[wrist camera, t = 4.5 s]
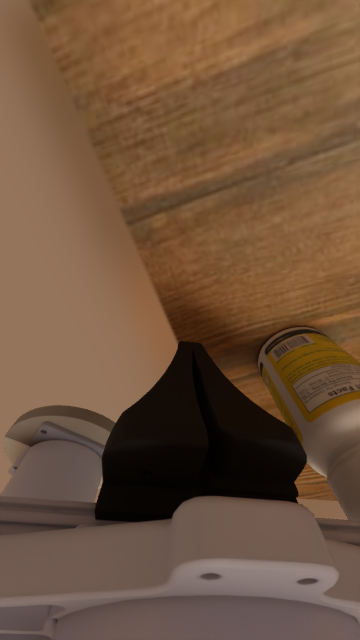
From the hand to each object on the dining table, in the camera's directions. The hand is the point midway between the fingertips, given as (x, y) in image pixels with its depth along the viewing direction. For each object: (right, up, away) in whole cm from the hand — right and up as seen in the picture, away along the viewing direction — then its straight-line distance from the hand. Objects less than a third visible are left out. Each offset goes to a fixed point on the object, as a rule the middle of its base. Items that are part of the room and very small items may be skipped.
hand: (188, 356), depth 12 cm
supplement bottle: (+7, 0, +2) cm, 7 cm away
